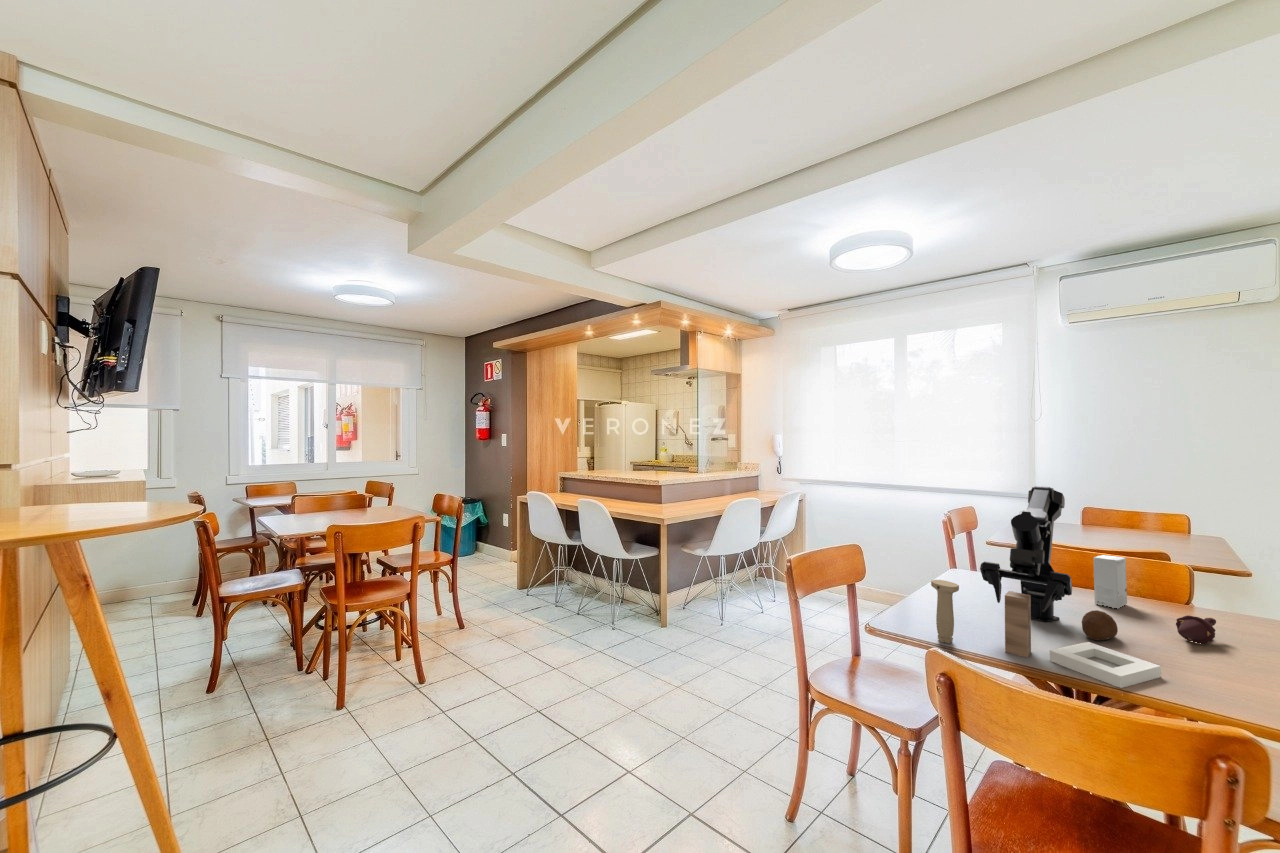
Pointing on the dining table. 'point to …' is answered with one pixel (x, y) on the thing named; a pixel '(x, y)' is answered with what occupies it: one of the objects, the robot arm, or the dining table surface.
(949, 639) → the handle
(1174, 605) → the dining table surface
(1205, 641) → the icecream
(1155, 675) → the socket block
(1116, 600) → the skincare box
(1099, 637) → the potato
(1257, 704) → the dining table surface
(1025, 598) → the peg
